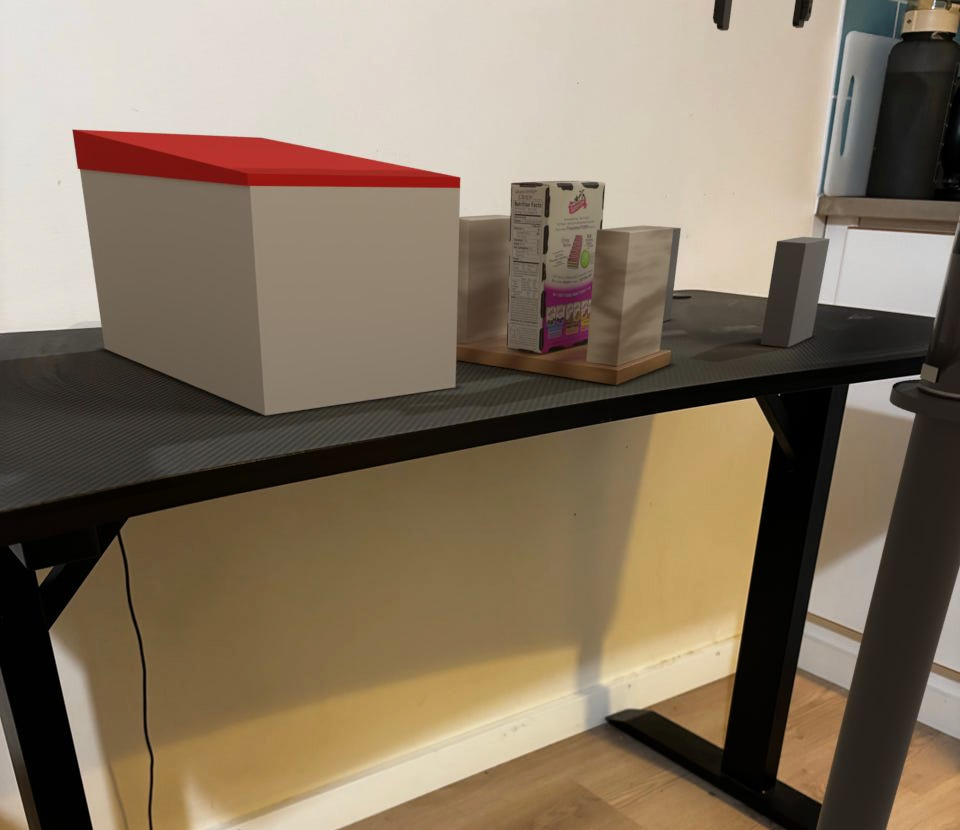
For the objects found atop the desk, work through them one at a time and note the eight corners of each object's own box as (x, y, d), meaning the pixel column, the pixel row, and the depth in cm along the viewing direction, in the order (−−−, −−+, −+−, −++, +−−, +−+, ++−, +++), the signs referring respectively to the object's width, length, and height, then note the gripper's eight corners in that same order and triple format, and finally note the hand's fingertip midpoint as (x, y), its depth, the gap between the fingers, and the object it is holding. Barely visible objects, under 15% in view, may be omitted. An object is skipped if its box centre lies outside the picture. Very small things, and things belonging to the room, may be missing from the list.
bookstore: (272, 332, 116) (260, 137, 107) (455, 387, 93) (461, 143, 83) (101, 348, 104) (71, 129, 94) (263, 415, 80) (244, 134, 71)
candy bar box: (558, 336, 111) (568, 179, 104) (595, 342, 109) (609, 182, 101) (502, 349, 103) (509, 179, 96) (540, 355, 101) (551, 181, 93)
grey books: (811, 336, 127) (829, 238, 122) (788, 347, 119) (806, 243, 113) (647, 316, 138) (657, 226, 133) (614, 325, 130) (623, 229, 124)
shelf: (669, 364, 107) (686, 227, 100) (616, 385, 96) (630, 233, 90) (492, 339, 117) (497, 213, 111) (426, 355, 106) (427, 217, 100)
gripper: (706, -157, 100) (686, 26, 107) (846, -176, 94) (815, 20, 101) (730, -137, 106) (709, 35, 113) (863, -153, 100) (832, 30, 107)
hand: (759, 28), depth 107 cm, fingers open, 8 cm apart
